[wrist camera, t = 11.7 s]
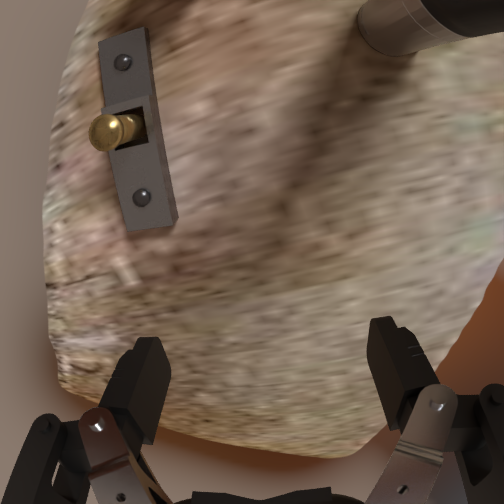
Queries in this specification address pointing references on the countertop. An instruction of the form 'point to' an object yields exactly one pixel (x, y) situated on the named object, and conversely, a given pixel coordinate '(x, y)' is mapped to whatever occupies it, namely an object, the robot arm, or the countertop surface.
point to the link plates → (153, 152)
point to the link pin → (116, 130)
